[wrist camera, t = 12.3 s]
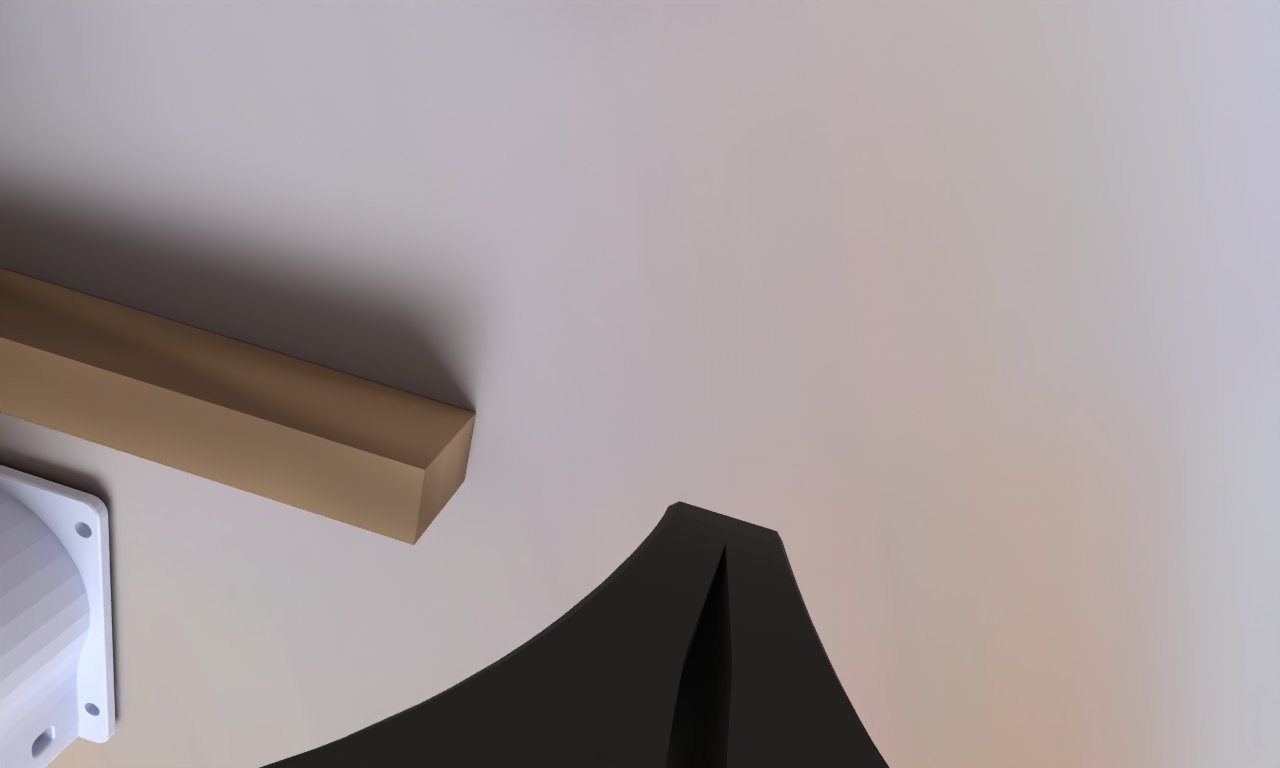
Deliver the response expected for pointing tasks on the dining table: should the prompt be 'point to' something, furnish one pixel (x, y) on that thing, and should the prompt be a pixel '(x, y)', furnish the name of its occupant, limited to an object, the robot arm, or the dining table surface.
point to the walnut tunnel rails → (228, 409)
